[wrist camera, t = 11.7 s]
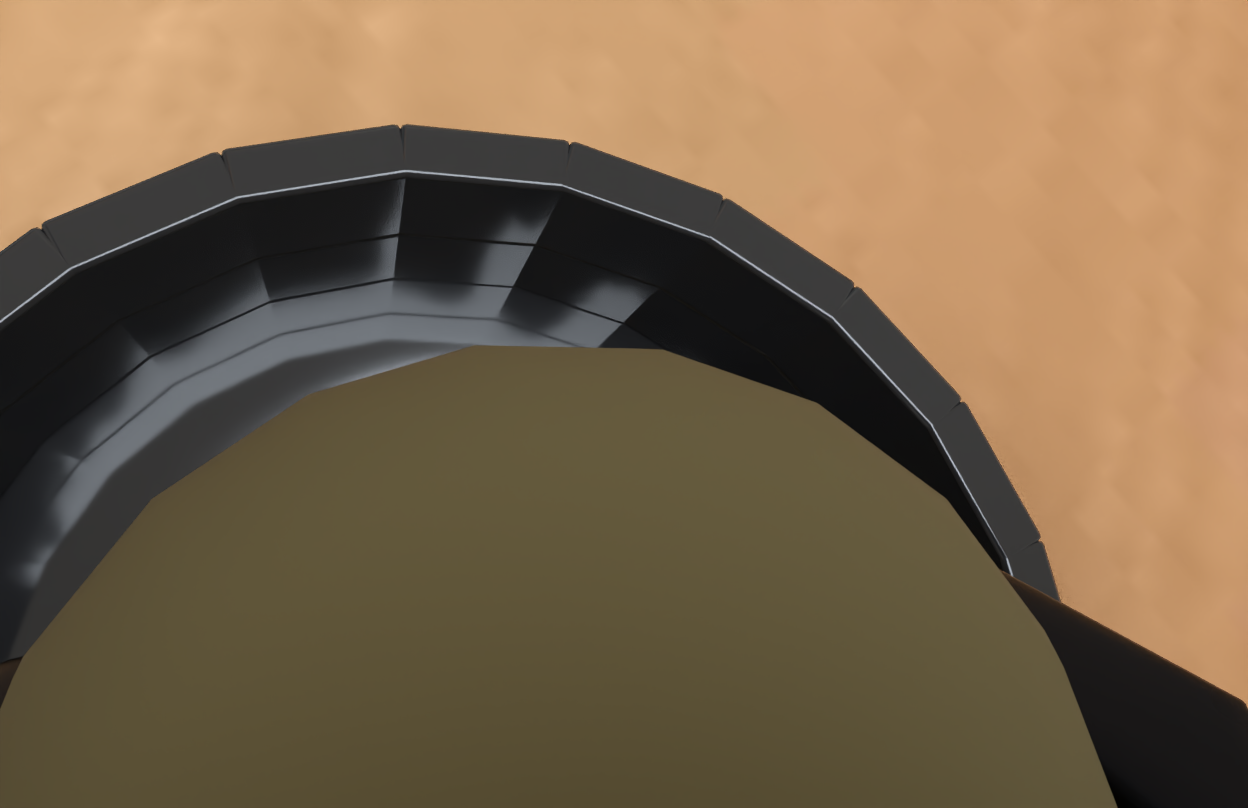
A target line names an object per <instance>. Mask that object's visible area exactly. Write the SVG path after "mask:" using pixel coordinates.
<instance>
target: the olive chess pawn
mask: <svg viewBox="0 0 1248 808" xmlns="http://www.w3.org/2000/svg"><path fill="white" fill-rule="evenodd" d="M0 808H1117V805H1116V802H1115V800H1114V797H1113V794H1112V792H1111V789H1110V787H1109V784H1108V781H1107V779H1106V776H1105V774H1104V771H1103V768H1102V766H1101V763H1100V761H1099V758H1098V755H1097V753H1096V750H1095V748H1094V745H1093V742H1092V740H1091V737H1090V734H1089V732H1088V729H1087V727H1086V724H1085V721H1084V719H1083V716H1082V714H1081V711H1080V708H1079V706H1078V703H1077V701H1076V698H1075V695H1074V693H1073V690H1072V688H1071V685H1070V682H1069V680H1068V677H1067V675H1066V672H1065V669H1064V667H1063V665H1062V663H1061V661H1060V659H1059V657H1058V655H1057V653H1056V651H1055V649H1054V648H1053V646H1052V644H1051V642H1050V640H1049V638H1048V636H1047V634H1046V632H1045V630H1044V629H1043V628H1042V626H1041V625H1040V624H1039V622H1038V621H1037V620H1036V618H1035V617H1034V616H1033V614H1032V613H1031V612H1030V610H1029V609H1028V607H1027V606H1026V605H1025V603H1024V602H1023V601H1022V599H1021V598H1020V597H1019V595H1018V594H1017V593H1016V591H1015V590H1014V589H1013V587H1012V586H1011V585H1010V583H1009V582H1008V581H1007V579H1006V578H1005V577H1004V575H1003V574H1002V573H1001V571H1000V570H999V569H998V567H997V566H996V565H995V563H994V562H993V561H992V559H991V558H990V557H989V555H988V554H987V553H986V551H985V550H984V549H983V547H982V546H981V545H980V543H979V542H978V540H977V539H976V538H975V536H974V535H973V534H972V532H971V531H970V530H969V528H968V527H967V526H966V524H965V523H964V522H963V520H962V519H961V518H960V516H959V515H958V514H957V512H956V511H955V510H954V508H953V507H952V506H951V504H950V503H949V502H948V500H947V499H946V498H945V497H943V496H942V495H941V494H939V493H938V492H937V491H935V490H934V489H933V488H931V487H930V486H929V485H927V484H926V483H924V482H923V481H922V480H920V479H919V478H918V477H916V476H915V475H914V474H912V473H911V472H910V471H908V470H907V469H906V468H904V467H903V466H902V465H900V464H899V463H898V462H896V461H895V460H893V459H892V458H891V457H889V456H888V455H887V454H885V453H884V452H883V451H881V450H880V449H879V448H877V447H876V446H875V445H873V444H872V443H871V442H869V441H868V440H866V439H865V438H864V437H862V436H861V435H860V434H858V433H857V432H856V431H854V430H853V429H852V428H850V427H849V426H848V425H846V424H845V423H844V422H842V421H841V420H840V419H838V418H837V417H835V416H834V415H833V414H831V413H830V412H829V411H827V410H826V409H825V408H823V407H822V406H821V405H819V404H818V403H816V402H813V401H810V400H807V399H805V398H802V397H799V396H796V395H793V394H790V393H787V392H784V391H781V390H778V389H776V388H773V387H770V386H767V385H764V384H761V383H758V382H755V381H752V380H749V379H747V378H744V377H741V376H738V375H735V374H732V373H729V372H726V371H723V370H721V369H718V368H715V367H712V366H709V365H706V364H703V363H700V362H697V361H694V360H692V359H689V358H686V357H683V356H680V355H677V354H674V353H671V352H668V351H665V350H660V349H634V348H586V347H538V346H490V345H474V346H470V347H467V348H464V349H460V350H457V351H453V352H450V353H447V354H443V355H440V356H436V357H433V358H430V359H426V360H423V361H420V362H416V363H413V364H409V365H406V366H403V367H399V368H396V369H392V370H389V371H386V372H382V373H379V374H376V375H372V376H369V377H365V378H362V379H359V380H355V381H352V382H348V383H345V384H342V385H338V386H335V387H332V388H328V389H325V390H321V391H318V392H315V393H311V394H308V395H307V396H305V397H304V398H302V399H301V400H299V401H298V402H296V403H295V404H293V405H292V406H290V407H289V408H287V409H286V410H284V411H283V412H281V413H280V414H278V415H277V416H275V417H274V418H272V419H271V420H269V421H268V422H266V423H265V424H263V425H262V426H260V427H259V428H257V429H256V430H254V431H253V432H251V433H250V434H248V435H247V436H245V437H244V438H242V439H241V440H239V441H238V442H236V443H235V444H233V445H232V446H230V447H229V448H227V449H226V450H224V451H223V452H221V453H220V454H218V455H217V456H215V457H214V458H212V459H211V460H209V461H208V462H206V463H205V464H203V465H202V466H200V467H199V468H197V469H196V470H194V471H193V472H191V473H190V474H188V475H187V476H185V477H184V478H182V479H181V480H179V481H178V482H176V483H175V484H173V485H172V486H170V487H169V488H167V489H166V490H164V491H163V492H161V493H160V494H158V495H157V496H155V497H154V498H152V499H151V500H150V502H149V503H148V504H147V505H146V507H145V508H144V509H143V510H142V511H141V513H140V514H139V515H138V516H137V518H136V519H135V520H134V521H133V523H132V524H131V525H130V526H129V527H128V529H127V530H126V531H125V532H124V534H123V535H122V536H121V537H120V538H119V540H118V541H117V542H116V543H115V545H114V546H113V547H112V548H111V549H110V551H109V552H108V553H107V554H106V556H105V557H104V558H103V559H102V561H101V562H100V563H99V564H98V565H97V567H96V568H95V569H94V570H93V572H92V573H91V574H90V575H89V576H88V578H87V579H86V580H85V581H84V583H83V584H82V585H81V586H80V587H79V589H78V590H77V591H76V592H75V594H74V595H73V596H72V597H71V599H70V600H69V601H68V602H67V603H66V605H65V606H64V607H63V608H62V610H61V611H60V612H59V613H58V614H57V616H56V617H55V618H54V619H53V621H52V622H51V623H50V624H49V625H48V627H47V628H46V629H45V630H44V632H43V633H42V634H41V635H40V637H39V638H38V639H37V640H36V641H35V643H34V644H33V645H32V646H31V648H30V649H29V650H28V651H27V652H26V654H25V655H24V656H23V658H22V660H21V662H20V664H19V666H18V668H17V670H16V673H15V675H14V677H13V679H12V681H11V684H10V686H9V689H8V691H7V694H6V696H5V698H4V701H3V703H2V706H1V708H0Z"/></svg>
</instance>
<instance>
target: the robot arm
mask: <svg viewBox="0 0 1248 808" xmlns="http://www.w3.org/2000/svg"><path fill="white" fill-rule="evenodd" d="M999 570H1000V569H999ZM1000 571H1001V573H1002V574H1003V575H1004V577H1005V578H1006V579H1007V581H1008V582H1009V583H1010V585H1011V586H1012V587H1013V589H1014V590H1015V591H1016V593H1017V594H1018V595H1019V597H1020V598H1021V599H1022V601H1023V602H1024V603H1025V605H1026V606H1027V607H1028V609H1029V610H1030V612H1031V613H1032V614H1033V616H1034V617H1035V618H1036V620H1037V621H1038V622H1039V624H1040V625H1041V626H1042V628H1043V629H1044V630H1045V632H1046V634H1047V636H1048V638H1049V640H1050V642H1051V644H1052V646H1053V648H1054V649H1055V651H1056V653H1057V655H1058V657H1059V659H1060V661H1061V663H1062V665H1063V667H1064V669H1065V672H1066V675H1067V677H1068V680H1069V682H1070V685H1071V688H1072V690H1073V693H1074V695H1075V698H1076V701H1077V703H1078V706H1079V708H1080V711H1081V714H1082V716H1083V719H1084V721H1085V724H1086V727H1087V729H1088V732H1089V734H1090V737H1091V740H1092V742H1093V745H1094V748H1095V750H1096V753H1097V755H1098V758H1099V761H1100V763H1101V766H1102V768H1103V771H1104V774H1105V776H1106V779H1107V781H1108V784H1109V787H1110V789H1111V792H1112V794H1113V797H1114V800H1115V802H1116V805H1117V808H1248V708H1247V706H1246V704H1245V703H1244V702H1243V701H1242V700H1241V699H1239V698H1237V697H1235V696H1233V695H1231V694H1229V693H1228V692H1226V691H1224V690H1222V689H1220V688H1218V687H1217V686H1215V685H1213V684H1211V683H1209V682H1207V681H1205V680H1204V679H1202V678H1200V677H1198V676H1196V675H1194V674H1192V673H1191V672H1189V671H1187V670H1185V669H1183V668H1181V667H1179V666H1178V665H1176V664H1174V663H1172V662H1170V661H1168V660H1167V659H1165V658H1163V657H1161V656H1159V655H1157V654H1155V653H1154V652H1152V651H1150V650H1148V649H1146V648H1144V647H1142V646H1141V645H1139V644H1137V643H1135V642H1133V641H1131V640H1130V639H1128V638H1126V637H1124V636H1122V635H1120V634H1118V633H1117V632H1115V631H1113V630H1111V629H1109V628H1107V627H1105V626H1104V625H1102V624H1100V623H1098V622H1096V621H1094V620H1092V619H1091V618H1089V617H1087V616H1085V615H1083V614H1081V613H1080V612H1078V611H1076V610H1074V609H1072V608H1070V607H1068V606H1067V605H1065V604H1063V603H1061V602H1059V601H1057V600H1055V599H1054V598H1052V597H1050V596H1048V595H1046V594H1044V593H1043V592H1041V591H1039V590H1037V589H1035V588H1033V587H1031V586H1030V585H1028V584H1026V583H1024V582H1022V581H1020V580H1018V579H1017V578H1015V577H1013V576H1011V575H1009V574H1007V573H1006V572H1004V571H1002V570H1000ZM22 658H23V656H22V657H18V658H13V659H9V660H6V661H4V662H2V663H0V708H1V706H2V703H3V701H4V698H5V696H6V694H7V691H8V689H9V686H10V684H11V681H12V679H13V677H14V675H15V673H16V670H17V668H18V666H19V664H20V662H21V660H22Z"/></svg>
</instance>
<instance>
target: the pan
mask: <svg viewBox="0 0 1248 808" xmlns="http://www.w3.org/2000/svg"><path fill="white" fill-rule="evenodd" d="M853 287H854V283H853V282H852V280H850V279H849V278H847V277H846V276H844V275H843V274H841V273H840V272H838V271H837V270H835V269H833V268H832V267H830V266H829V265H827V264H826V263H824V262H823V261H821V260H820V259H818V258H817V257H815V256H814V255H812V254H811V253H809V252H808V251H806V250H805V249H803V248H802V247H800V246H799V245H797V244H796V243H794V242H793V241H791V240H790V239H788V238H787V237H785V236H784V235H782V234H781V233H779V232H778V231H776V230H775V229H773V228H772V227H770V226H769V225H767V224H766V223H764V222H763V221H761V220H760V219H758V218H757V217H755V216H754V215H752V214H751V213H749V212H748V211H746V210H745V209H743V208H742V207H740V206H739V205H737V204H736V203H734V202H733V201H731V200H730V199H723V196H722V195H721V194H719V193H716V192H713V191H710V190H708V189H705V188H702V187H699V186H697V185H694V184H691V183H688V182H685V181H683V180H680V179H677V178H674V177H672V176H669V175H666V174H663V173H660V172H658V171H655V170H652V169H649V168H646V167H644V166H641V165H638V164H635V163H633V162H630V161H627V160H624V159H621V158H619V157H616V156H613V155H610V154H608V153H605V152H602V151H599V150H596V149H594V148H591V147H588V146H585V145H582V144H580V143H577V142H572V143H571V144H570V145H569V143H568V141H565V140H558V139H548V138H538V137H529V136H519V135H509V134H499V133H489V132H479V131H469V130H459V129H449V128H439V127H429V126H419V125H409V124H406V125H402V127H401V129H400V128H399V126H398V125H387V126H380V127H373V128H366V129H360V130H353V131H346V132H339V133H332V134H325V135H318V136H311V137H305V138H298V139H291V140H284V141H277V142H270V143H263V144H257V145H250V146H243V147H236V148H229V149H225V150H223V151H222V154H221V155H220V154H219V153H218V152H215V153H211V154H208V155H206V156H203V157H201V158H198V159H196V160H194V161H191V162H189V163H186V164H184V165H181V166H179V167H176V168H174V169H172V170H169V171H167V172H164V173H162V174H159V175H157V176H155V177H152V178H150V179H147V180H145V181H142V182H140V183H137V184H135V185H133V186H130V187H128V188H125V189H123V190H120V191H118V192H115V193H113V194H111V195H108V196H106V197H103V198H101V199H98V200H96V201H94V202H91V203H89V204H86V205H84V206H81V207H79V208H76V209H74V210H72V211H69V212H67V213H64V214H62V215H59V216H57V217H55V218H52V219H50V220H47V221H45V222H44V223H43V224H42V229H40V228H38V227H36V228H33V229H31V230H30V231H28V232H27V233H26V234H24V235H23V236H21V237H20V238H19V239H17V240H16V241H15V242H13V243H12V244H11V245H9V246H8V247H7V248H5V249H4V250H2V251H1V252H0V663H2V662H4V661H6V660H9V659H13V658H18V657H22V656H24V655H25V654H26V652H27V651H28V650H29V649H30V648H31V646H32V645H33V644H34V643H35V641H36V640H37V639H38V638H39V637H40V635H41V634H42V633H43V632H44V630H45V629H46V628H47V627H48V625H49V624H50V623H51V622H52V621H53V619H54V618H55V617H56V616H57V614H58V613H59V612H60V611H61V610H62V608H63V607H64V606H65V605H66V603H67V602H68V601H69V600H70V599H71V597H72V596H73V595H74V594H75V592H76V591H77V590H78V589H79V587H80V586H81V585H82V584H83V583H84V581H85V580H86V579H87V578H88V576H89V575H90V574H91V573H92V572H93V570H94V569H95V568H96V567H97V565H98V564H99V563H100V562H101V561H102V559H103V558H104V557H105V556H106V554H107V553H108V552H109V551H110V549H111V548H112V547H113V546H114V545H115V543H116V542H117V541H118V540H119V538H120V537H121V536H122V535H123V534H124V532H125V531H126V530H127V529H128V527H129V526H130V525H131V524H132V523H133V521H134V520H135V519H136V518H137V516H138V515H139V514H140V513H141V511H142V510H143V509H144V508H145V507H146V505H147V504H148V503H149V502H150V500H151V499H152V498H154V497H155V496H157V495H158V494H160V493H161V492H163V491H164V490H166V489H167V488H169V487H170V486H172V485H173V484H175V483H176V482H178V481H179V480H181V479H182V478H184V477H185V476H187V475H188V474H190V473H191V472H193V471H194V470H196V469H197V468H199V467H200V466H202V465H203V464H205V463H206V462H208V461H209V460H211V459H212V458H214V457H215V456H217V455H218V454H220V453H221V452H223V451H224V450H226V449H227V448H229V447H230V446H232V445H233V444H235V443H236V442H238V441H239V440H241V439H242V438H244V437H245V436H247V435H248V434H250V433H251V432H253V431H254V430H256V429H257V428H259V427H260V426H262V425H263V424H265V423H266V422H268V421H269V420H271V419H272V418H274V417H275V416H277V415H278V414H280V413H281V412H283V411H284V410H286V409H287V408H289V407H290V406H292V405H293V404H295V403H296V402H298V401H299V400H301V399H302V398H304V397H305V396H307V395H308V394H311V393H315V392H318V391H321V390H325V389H328V388H332V387H335V386H338V385H342V384H345V383H348V382H352V381H355V380H359V379H362V378H365V377H369V376H372V375H376V374H379V373H382V372H386V371H389V370H392V369H396V368H399V367H403V366H406V365H409V364H413V363H416V362H420V361H423V360H426V359H430V358H433V357H436V356H440V355H443V354H447V353H450V352H453V351H457V350H460V349H464V348H467V347H470V346H474V345H490V346H538V347H586V348H634V349H660V350H665V351H668V352H671V353H674V354H677V355H680V356H683V357H686V358H689V359H692V360H694V361H697V362H700V363H703V364H706V365H709V366H712V367H715V368H718V369H721V370H723V371H726V372H729V373H732V374H735V375H738V376H741V377H744V378H747V379H749V380H752V381H755V382H758V383H761V384H764V385H767V386H770V387H773V388H776V389H778V390H781V391H784V392H787V393H790V394H793V395H796V396H799V397H802V398H805V399H807V400H810V401H813V402H816V403H818V404H819V405H821V406H822V407H823V408H825V409H826V410H827V411H829V412H830V413H831V414H833V415H834V416H835V417H837V418H838V419H840V420H841V421H842V422H844V423H845V424H846V425H848V426H849V427H850V428H852V429H853V430H854V431H856V432H857V433H858V434H860V435H861V436H862V437H864V438H865V439H866V440H868V441H869V442H871V443H872V444H873V445H875V446H876V447H877V448H879V449H880V450H881V451H883V452H884V453H885V454H887V455H888V456H889V457H891V458H892V459H893V460H895V461H896V462H898V463H899V464H900V465H902V466H903V467H904V468H906V469H907V470H908V471H910V472H911V473H912V474H914V475H915V476H916V477H918V478H919V479H920V480H922V481H923V482H924V483H926V484H927V485H929V486H930V487H931V488H933V489H934V490H935V491H937V492H938V493H939V494H941V495H942V496H943V497H945V498H946V499H947V500H948V502H949V503H950V504H951V506H952V507H953V508H954V510H955V511H956V512H957V514H958V515H959V516H960V518H961V519H962V520H963V522H964V523H965V524H966V526H967V527H968V528H969V530H970V531H971V532H972V534H973V535H974V536H975V538H976V539H977V540H978V542H979V543H980V545H981V546H982V547H983V549H984V550H985V551H986V553H987V554H988V555H989V557H990V558H991V559H992V561H993V562H994V563H995V565H996V566H997V567H998V569H1000V570H1002V571H1004V572H1006V573H1007V574H1009V575H1011V576H1013V577H1015V578H1017V579H1018V580H1020V581H1022V582H1024V583H1026V584H1028V585H1030V586H1031V587H1033V588H1035V589H1037V590H1039V591H1041V592H1043V593H1044V594H1046V595H1048V596H1050V597H1052V598H1054V599H1055V600H1057V601H1059V602H1061V600H1060V597H1059V594H1058V590H1057V587H1056V584H1055V580H1054V577H1053V573H1052V570H1051V567H1050V563H1049V560H1048V557H1047V553H1046V550H1045V546H1044V544H1043V543H1042V542H1041V541H1038V540H1039V539H1040V538H1041V536H1040V533H1039V531H1038V530H1037V528H1036V526H1035V524H1034V523H1033V521H1032V519H1031V517H1030V515H1029V514H1028V512H1027V510H1026V508H1025V507H1024V505H1023V503H1022V501H1021V499H1020V498H1019V496H1018V494H1017V492H1016V491H1015V489H1014V487H1013V485H1012V484H1011V482H1010V480H1009V478H1008V476H1007V475H1006V473H1005V471H1004V469H1003V468H1002V466H1001V464H1000V462H999V460H998V459H997V457H996V455H995V453H994V452H993V450H992V448H991V446H990V444H989V443H988V441H987V439H986V437H985V436H984V434H983V432H982V430H981V429H980V427H979V425H978V423H977V421H976V420H975V418H974V416H973V414H972V413H971V411H970V409H969V407H968V405H967V404H966V403H965V402H960V401H961V397H960V395H959V394H958V393H957V392H956V391H955V390H954V389H953V388H952V387H951V386H950V384H949V383H948V382H947V381H946V380H945V379H944V378H943V377H942V376H941V375H940V374H939V373H938V371H937V370H936V369H935V368H934V367H933V366H932V365H931V364H930V363H929V362H928V361H927V360H926V358H925V357H924V356H923V355H922V354H921V353H920V352H919V351H918V350H917V349H916V348H915V346H914V345H913V344H912V343H911V342H910V341H909V340H908V339H907V338H906V337H905V336H904V335H903V333H902V332H901V331H900V330H899V329H898V328H897V327H896V326H895V325H894V324H893V323H892V322H891V320H890V319H889V318H888V317H887V316H886V315H885V314H884V313H883V312H882V311H881V310H880V309H879V307H878V306H877V305H876V304H875V303H874V302H873V301H872V300H871V299H870V298H869V297H868V296H867V294H866V293H865V292H864V291H863V290H862V289H861V288H859V287H854V288H853Z"/></svg>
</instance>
